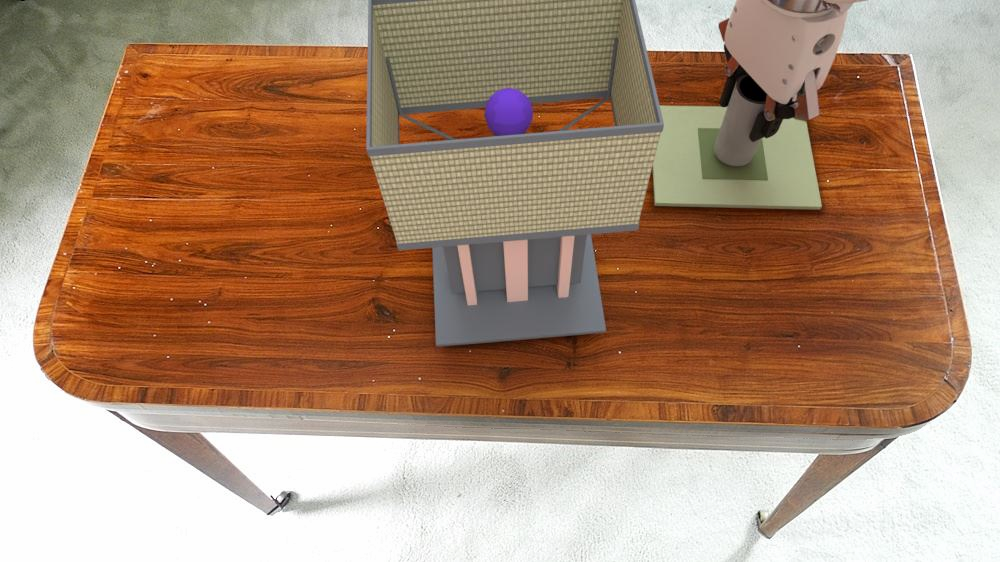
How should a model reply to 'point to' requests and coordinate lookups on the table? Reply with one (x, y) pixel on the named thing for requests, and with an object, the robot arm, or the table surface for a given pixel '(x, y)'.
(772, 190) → the mat
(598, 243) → the table surface
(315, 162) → the table surface
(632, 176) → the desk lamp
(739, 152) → the gray hollow cylinder
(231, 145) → the table surface
